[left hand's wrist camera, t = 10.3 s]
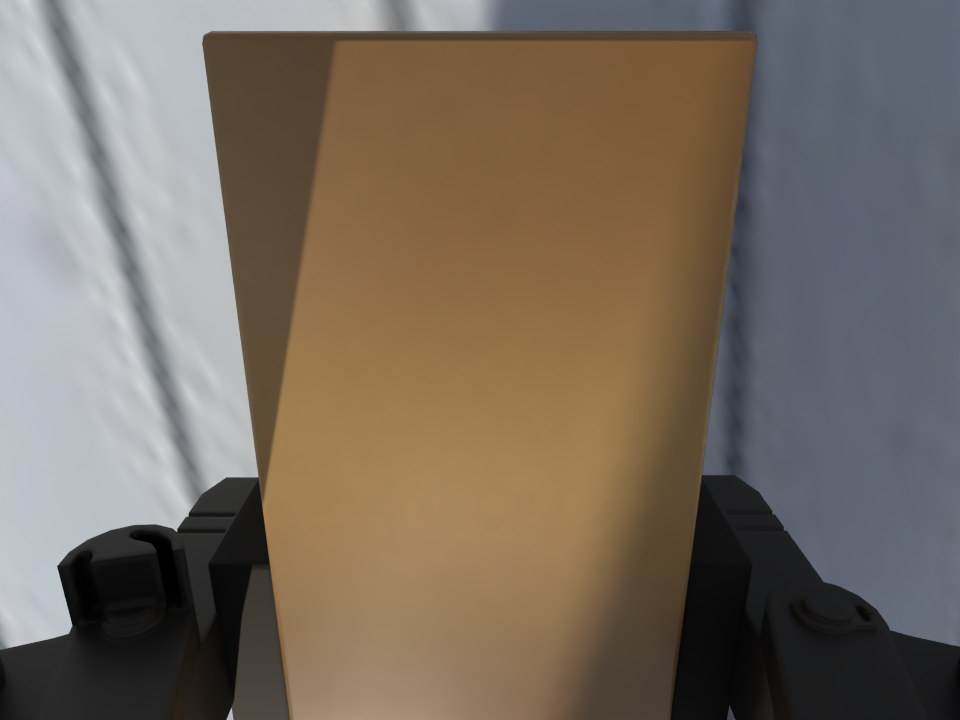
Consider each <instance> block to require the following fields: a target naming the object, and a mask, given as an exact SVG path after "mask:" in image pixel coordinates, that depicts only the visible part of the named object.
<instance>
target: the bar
mask: <svg viewBox="0 0 960 720" xmlns="http://www.w3.org/2000/svg"><path fill="white" fill-rule="evenodd" d="M202 44H203V51H204V59H205V67H206V75H207V82H208V90H209V98H210V106H211V113H212V121H213V129H214V136H215V144H216V152H217V160H218V167H219V175H220V183H221V190H222V198H223V206H224V214H225V221H226V229H227V237H228V244H229V252H230V260H231V268H232V275H233V283H234V291H235V299H236V306H237V314H238V322H239V329H240V337H241V345H242V353H243V360H244V368H245V376H246V383H247V391H248V399H249V407H250V414H251V422H252V430H253V437H254V445H255V453H256V461H257V468H258V476H259V484H260V492H261V499H262V507H263V515H264V522H265V530H266V538H267V546H268V553H269V561H270V569H271V576H272V584H273V592H274V600H275V607H276V615H277V623H278V631H279V638H280V646H281V654H282V661H283V669H284V677H285V685H286V692H287V700H288V708H289V715H290V720H670V719H671V711H672V703H673V695H674V687H675V680H676V672H677V664H678V656H679V649H680V641H681V633H682V625H683V617H684V610H685V602H686V594H687V586H688V579H689V571H690V563H691V555H692V548H693V540H694V532H695V524H696V516H697V509H698V501H699V493H700V485H701V478H702V470H703V462H704V454H705V447H706V439H707V431H708V423H709V415H710V408H711V400H712V392H713V384H714V377H715V369H716V361H717V353H718V345H719V338H720V330H721V322H722V314H723V307H724V299H725V291H726V283H727V276H728V268H729V260H730V252H731V244H732V237H733V229H734V221H735V213H736V206H737V198H738V190H739V182H740V175H741V167H742V159H743V151H744V143H745V136H746V128H747V120H748V112H749V105H750V97H751V89H752V81H753V73H754V66H755V58H756V50H757V37H756V35H755V34H754V33H751V32H749V31H211V32H209V33H207V34H205V35H204V37H203V42H202Z"/></svg>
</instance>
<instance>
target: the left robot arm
mask: <svg viewBox="0 0 960 720" xmlns="http://www.w3.org/2000/svg"><path fill="white" fill-rule="evenodd" d="M57 567H58V571H59V575H60V579H61V583H62V587H63V590H64V594H65V598H66V602H67V606H68V610H69V614H70V617H71V621H72V625H73V626H72V628H71V631H70V633H69V634H67V635H63V636H60V637H56V638H53V639H48V640H44V641H39V642H35V643H30V644H25V645H21V646H16V647H12V648H7V649H3V650H0V720H226V719H227V717H228V714H229V712H230V710H231V707H232V712H233V718H234V720H290V715H289V708H288V700H287V692H286V685H285V677H284V669H283V661H282V654H281V646H280V638H279V631H278V623H277V615H276V607H275V600H274V592H273V584H272V576H271V569H270V561H269V553H268V546H267V538H266V530H265V522H264V515H263V507H262V499H261V492H260V484H259V478H225V479H224V480H222V481H221V482H219V483H218V484H216V485H215V486H213V487H212V488H211V489H209V490H208V491H206V492H205V493H203V494H202V495H201V497H200V498H199V500H198V501H197V502H196V504H195V505H194V507H193V508H192V509H191V511H190V512H189V517H186V518H185V519H184V521H183V522H182V523H181V525H180V526H179V528H178V529H177V532H176V531H175V530H174V529H172V528H168V527H164V526H160V525H133V526H128V527H124V528H119V529H115V530H110V531H108V532H106V533H103V534H101V535H98V536H96V537H93V538H91V539H89V540H87V541H85V542H84V543H82V544H81V545H79V546H78V547H76V548H75V549H73V550H72V551H70V552H69V553H68V554H67V555H66V557H65V558H64V559H63V560H62V561H61V563H60V564H59V565H58V566H57ZM729 705H730V707H731V710H732V712H733V714H734V717H735V719H736V720H960V647H958V646H953V645H949V644H944V643H940V642H935V641H930V640H926V639H921V638H917V637H912V636H908V635H904V634H901V633H897V632H894V631H890V629H889V627H888V625H887V623H886V622H885V621H884V619H883V618H882V616H881V615H880V614H879V612H878V611H877V610H876V609H875V608H874V607H873V606H871V605H870V604H869V603H867V602H866V601H865V600H863V599H862V598H861V597H860V596H858V595H856V594H854V593H852V592H849V591H847V590H845V589H843V588H841V587H839V586H836V585H832V584H829V583H825V582H823V581H822V579H821V578H820V576H819V575H818V574H817V572H816V571H815V570H814V568H813V567H812V565H811V564H810V563H809V561H808V560H807V558H806V557H805V556H804V554H803V553H802V551H801V550H800V549H799V547H798V546H797V545H796V543H795V542H794V540H793V539H792V538H791V536H790V535H789V533H788V532H787V531H784V526H783V525H782V524H781V522H780V521H779V520H778V518H777V517H776V515H773V514H772V510H771V508H770V507H769V506H768V504H767V503H766V502H765V500H764V499H763V497H762V496H761V495H760V493H759V492H758V491H757V490H755V489H754V488H752V487H751V486H749V485H748V484H746V483H745V482H743V481H742V480H740V479H739V478H737V477H736V476H734V475H702V478H701V485H700V493H699V501H698V509H697V516H696V524H695V532H694V540H693V548H692V555H691V563H690V571H689V579H688V586H687V594H686V602H685V610H684V617H683V625H682V633H681V641H680V649H679V656H678V664H677V672H676V680H675V687H674V695H673V703H672V711H671V719H670V720H727V715H728V709H729Z"/></svg>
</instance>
